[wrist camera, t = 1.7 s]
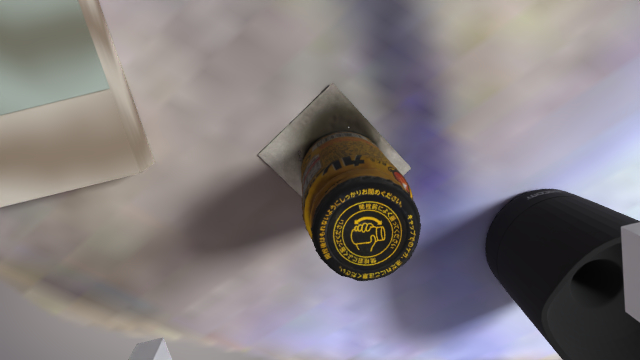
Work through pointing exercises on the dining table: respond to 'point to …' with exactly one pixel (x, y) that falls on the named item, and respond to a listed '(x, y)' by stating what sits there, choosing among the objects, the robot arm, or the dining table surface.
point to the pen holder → (566, 272)
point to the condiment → (348, 188)
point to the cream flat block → (63, 102)
